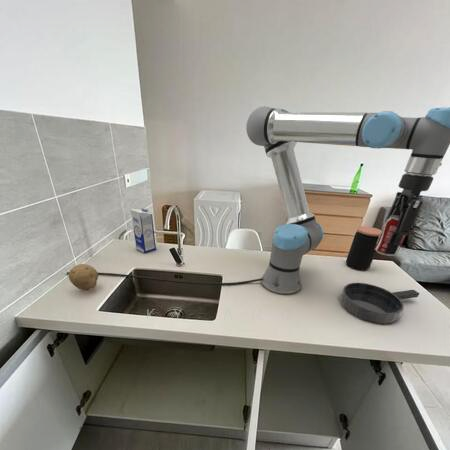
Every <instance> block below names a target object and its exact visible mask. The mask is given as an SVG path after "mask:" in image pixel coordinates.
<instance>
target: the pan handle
mask: <svg viewBox="0 0 450 450" xmlns="http://www.w3.org/2000/svg"><path fill="white" fill-rule="evenodd" d="M392 293H393V294H394V295H396V296H397V297H398V298H399V299H400V300H401V301H403V300H407V299H408V300H409V299H413V298H415V299H416V298H418V297H419V295H420V292H419V291H416V290H415V289H407V290H400V291H393V292H392ZM387 297H389V298H390V299H391V300H393V299H394V296H392V295H391V294H389V295H388V296H387ZM392 297H393V298H392Z"/></svg>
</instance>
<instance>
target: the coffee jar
mask: <svg viewBox="0 0 450 450" xmlns="http://www.w3.org/2000/svg"><path fill="white" fill-rule="evenodd" d="M381 231H382V229H379V228H377V227H372V226H364V225H362V226H358V227H357V228H356V232H355V233H354V236H353V239H352V241H351V246H350V247H349V251H348V254H347V255H346V260H345V264H346V266H347V267H348V268H349V269H352V270H355V271H361V272H364V271H367V270H368V269H370V268H371V266H372V263H373V261H374V258H375V256H376V253H377V251H376V250H375V246H376V244H377V241H378V239H379V236H380V234H381Z"/></svg>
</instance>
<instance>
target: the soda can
mask: <svg viewBox="0 0 450 450" xmlns="http://www.w3.org/2000/svg"><path fill="white" fill-rule="evenodd" d="M399 217H400V216H398V215H391V216H390V218H389V219H387V220H386V219H385V220H386V221H385V220H384V224H383V227H382V229H381V234H380V236H379V239H378V241H377V244H376V246H375V250H376V253H378V254H379V255H383V256H387V257H392V256H396V255H398V253H399V251H400V249H401V246H402V244H403V243H404V241H405V238H406V236H407V235H403V237H402V240H401V242H400V244H399V246H398V248H397V250H396V253H395V254H388V253H385V251H386V248H387V246H388V244H389V241H390V239H391V237H392V232H395V231H396V227H397V224H398V220H399Z"/></svg>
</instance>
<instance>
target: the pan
mask: <svg viewBox="0 0 450 450" xmlns="http://www.w3.org/2000/svg"><path fill="white" fill-rule="evenodd" d="M389 294H391V295H392V296H394V299H393V300H391V299H390V298H389V297H387V296H388V295H389ZM392 298H393V297H392ZM339 301H340V303H341V305H342V306H343V308H344V309H345V310H346V311H347V312H348V313H349V314H350V315H353V316H354V317H356V318H358V319H361V320H362V321H365V322H369V323H373V324H379V325H380V324H381V325H382V324H383V325H385V324H386V325H387V324H392V323H394V322H397V321H398V320H399V319H400V316H401V314H402V313H403V311H404V309H405V308H404V307H405V305H404V302H403V300H400V299H399V298H398V297H397V296H396V295H394V294H393V292H391V291H389V290H387V289H385V288H383V287H380V286H377V285H376V284H375V285H374V284H371V283H366V282H365V283H364V282H352V283H351V282H350V283H348V284H346V285H345V286H343V289H342V291H341V294H340V297H339Z"/></svg>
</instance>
